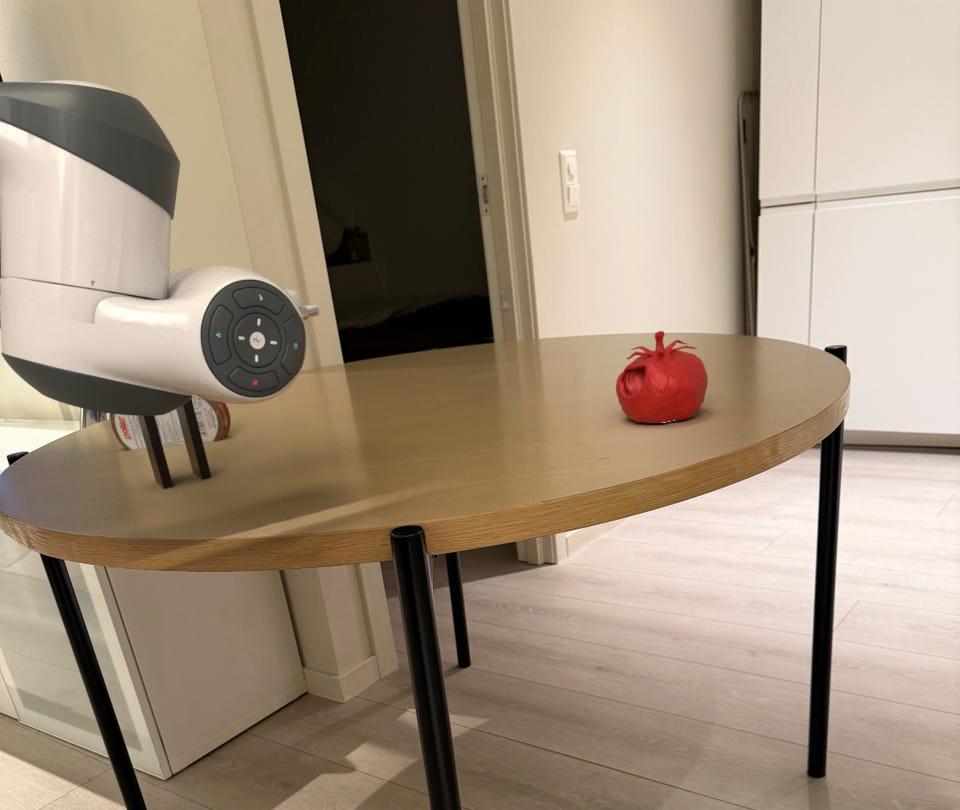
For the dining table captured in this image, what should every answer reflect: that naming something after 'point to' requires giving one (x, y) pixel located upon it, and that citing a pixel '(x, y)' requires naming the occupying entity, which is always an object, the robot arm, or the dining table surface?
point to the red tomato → (662, 384)
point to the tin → (175, 425)
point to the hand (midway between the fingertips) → (163, 326)
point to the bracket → (191, 441)
